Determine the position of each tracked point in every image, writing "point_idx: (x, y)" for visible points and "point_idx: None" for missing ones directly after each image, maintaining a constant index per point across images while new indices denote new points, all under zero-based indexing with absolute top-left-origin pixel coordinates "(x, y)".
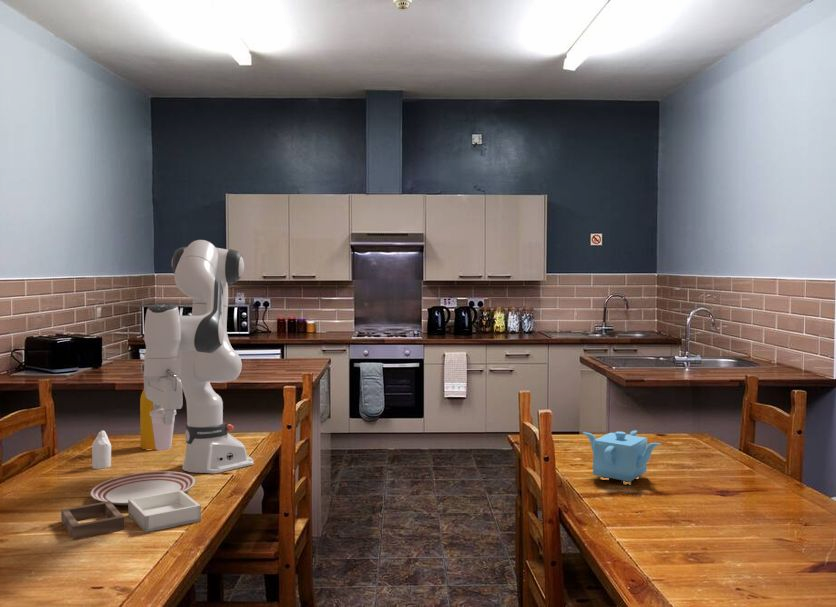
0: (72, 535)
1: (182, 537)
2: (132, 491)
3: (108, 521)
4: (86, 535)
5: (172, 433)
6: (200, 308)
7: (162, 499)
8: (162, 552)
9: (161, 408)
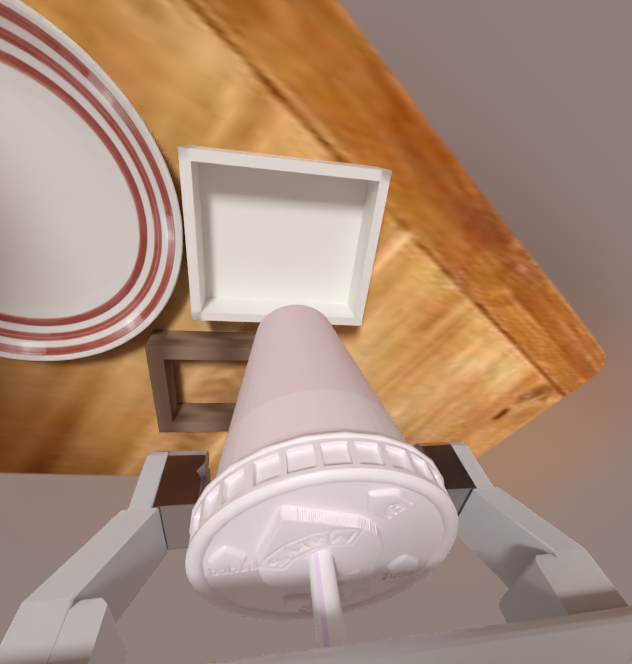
0: None
1: (439, 254)
2: None
3: None
4: None
5: (343, 351)
6: None
7: (198, 220)
8: (473, 313)
9: (125, 550)
